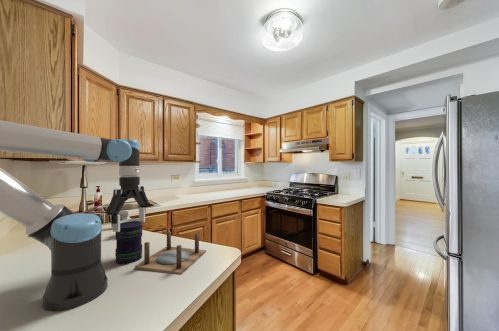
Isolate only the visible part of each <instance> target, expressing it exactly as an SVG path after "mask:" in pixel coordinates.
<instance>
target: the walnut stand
mask: <svg viewBox="0 0 499 331" xmlns="http://www.w3.org/2000/svg"><path fill="white" fill-rule="evenodd" d="M150 244H151V243H150V242H149V241H146V242H144V247H143V248H144V253H143V254H144V255H143V256H144V260H143V261H141V262H139V263H138V264H136V265H134V270H138V271H149V272H157V273H158V272H159V273H167V274H175V275H183V274H184V273H185V272H186V271H187V270H189V268H190V267H191V266H192V265H193V264H195V263H196V262H197V261H198V260H199V259H200V258H201V257H203V256H204V254H206V253H207V250H206V249H200V234H199V233H197V232H196V233H194V248H187V247H183V246H182V245H181V244H178V245H176V246H172V232H171V231H170V230H169V231H166V246H165V247H164V248H162V249H159V250H158V251H157V252H155V253H153V254H152V255H151V256H150V249H151V248H150Z"/></svg>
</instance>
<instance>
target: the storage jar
mask: <svg viewBox="0 0 499 331" xmlns="http://www.w3.org/2000/svg"><path fill="white" fill-rule="evenodd" d="M142 237H143V222H139V221H131V222H124V223H120V232H115V237H114V238H115V242H116V245H115V246H116V248H115V254H114V255H115V264H117V265H129V263H130V264H134V263H135V262H138V261H140V260H141V259H142V258H143V255H142V254H143V248H144V247H143V244H142Z"/></svg>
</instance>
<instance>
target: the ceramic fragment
mask: <svg viewBox="0 0 499 331" xmlns="http://www.w3.org/2000/svg"><path fill="white" fill-rule="evenodd" d="M118 215H120V221H122V220H126V219H129V212H128V210H120V212H119V213H118ZM108 216H109V220H110V224H111V228H112V229H113V224H112V223H111V215H108Z"/></svg>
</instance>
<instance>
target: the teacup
mask: <svg viewBox="0 0 499 331" xmlns="http://www.w3.org/2000/svg"><path fill="white" fill-rule="evenodd" d="M131 221H139V218H127V219H126V220H122V221H120V223H124V222H131Z"/></svg>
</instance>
